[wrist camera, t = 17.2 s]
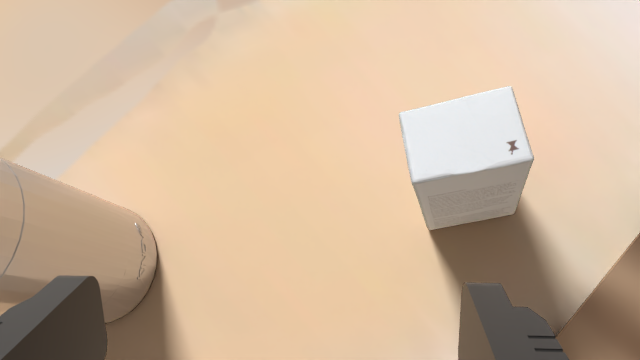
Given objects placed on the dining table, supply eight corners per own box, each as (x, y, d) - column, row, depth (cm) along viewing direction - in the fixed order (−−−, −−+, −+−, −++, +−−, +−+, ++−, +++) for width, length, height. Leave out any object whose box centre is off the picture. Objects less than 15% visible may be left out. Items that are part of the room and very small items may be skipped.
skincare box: (499, 157, 39) (515, 82, 28) (515, 215, 38) (538, 161, 27) (413, 175, 40) (396, 109, 29) (425, 232, 39) (412, 187, 28)
